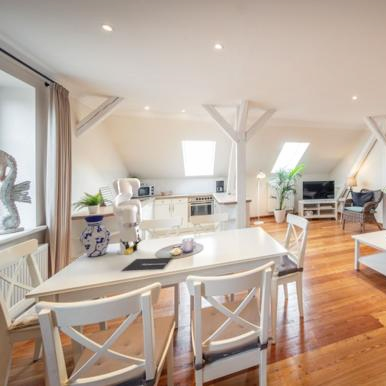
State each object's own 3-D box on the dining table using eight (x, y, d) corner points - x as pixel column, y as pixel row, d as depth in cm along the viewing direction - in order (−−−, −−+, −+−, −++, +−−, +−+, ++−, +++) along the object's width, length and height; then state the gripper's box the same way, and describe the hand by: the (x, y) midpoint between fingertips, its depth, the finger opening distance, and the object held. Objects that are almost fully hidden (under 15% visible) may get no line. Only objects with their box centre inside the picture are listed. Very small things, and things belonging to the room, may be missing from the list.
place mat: (136, 259, 166) (136, 259, 166) (172, 258, 169) (172, 257, 169) (121, 271, 146) (121, 270, 146) (162, 269, 149) (162, 269, 149)
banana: (134, 248, 162) (134, 242, 161) (140, 248, 162) (140, 242, 162) (122, 256, 147) (122, 250, 146) (129, 256, 147) (128, 250, 147)
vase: (81, 261, 162) (78, 221, 159) (80, 254, 176) (77, 216, 173) (113, 254, 175) (110, 217, 172) (110, 248, 189) (107, 213, 186)
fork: (141, 266, 154) (141, 265, 154) (142, 264, 156) (142, 263, 156) (164, 265, 156) (164, 264, 156) (166, 263, 158) (166, 263, 158)
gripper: (145, 223, 156) (146, 248, 158) (119, 223, 154) (121, 249, 156) (140, 226, 149) (141, 252, 151) (113, 226, 147) (115, 253, 149)
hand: (131, 250), depth 154 cm, fingers closed on banana, 4 cm apart
